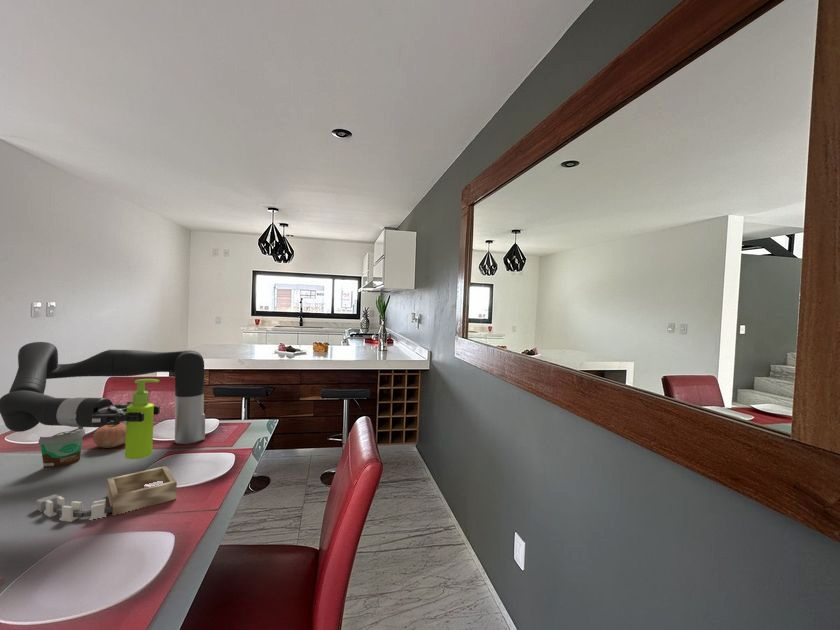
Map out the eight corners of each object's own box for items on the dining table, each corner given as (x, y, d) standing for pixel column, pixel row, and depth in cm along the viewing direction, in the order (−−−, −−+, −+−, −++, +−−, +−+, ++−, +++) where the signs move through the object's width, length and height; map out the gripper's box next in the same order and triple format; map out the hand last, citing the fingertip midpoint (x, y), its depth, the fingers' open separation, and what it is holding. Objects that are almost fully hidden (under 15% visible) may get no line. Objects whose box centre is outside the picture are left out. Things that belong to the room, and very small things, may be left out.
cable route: (51, 502, 102) (51, 490, 102) (115, 512, 98) (115, 499, 98) (24, 514, 96) (24, 501, 96) (91, 525, 92) (91, 511, 92)
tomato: (128, 438, 149) (128, 417, 149) (133, 446, 142) (133, 424, 141) (90, 445, 142) (90, 423, 141) (94, 454, 134) (94, 430, 134)
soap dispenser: (156, 456, 105) (158, 380, 105) (123, 460, 101) (126, 382, 101) (157, 449, 110) (159, 376, 110) (126, 453, 106) (128, 378, 106)
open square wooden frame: (166, 481, 116) (166, 465, 115) (176, 498, 106) (176, 481, 106) (107, 495, 107) (107, 478, 106) (112, 516, 97) (112, 497, 97)
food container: (54, 472, 119) (54, 439, 119) (38, 470, 121) (37, 437, 120) (95, 456, 132) (95, 426, 131) (80, 455, 133) (80, 425, 132)
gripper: (105, 418, 112) (167, 419, 113) (62, 435, 98) (132, 436, 98) (106, 391, 112) (167, 393, 113) (62, 405, 97) (133, 406, 98)
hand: (151, 413), depth 105 cm, fingers closed on soap dispenser, 6 cm apart
